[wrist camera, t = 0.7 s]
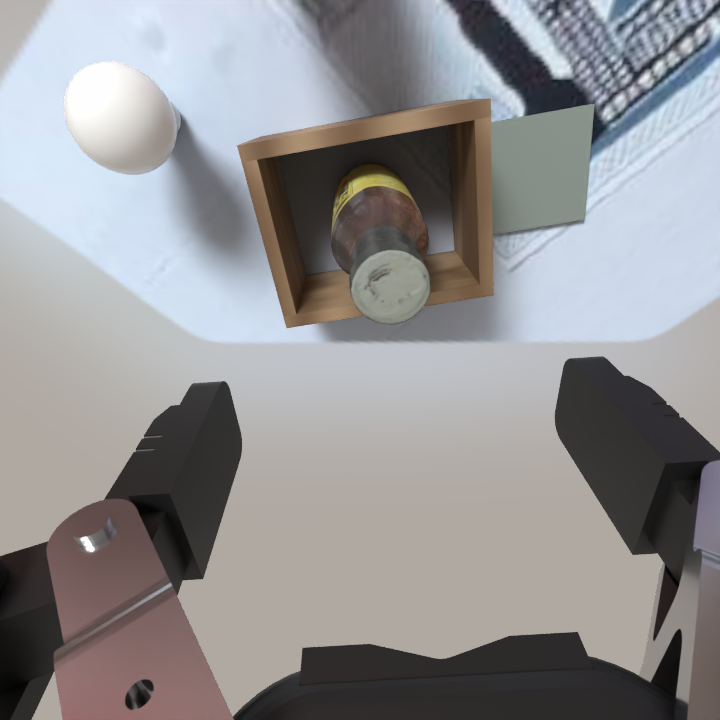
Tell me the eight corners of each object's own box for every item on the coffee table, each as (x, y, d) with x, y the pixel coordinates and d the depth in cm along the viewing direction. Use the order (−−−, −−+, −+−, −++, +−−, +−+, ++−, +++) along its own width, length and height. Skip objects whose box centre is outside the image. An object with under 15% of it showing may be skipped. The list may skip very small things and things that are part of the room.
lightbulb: (213, 89, 35) (163, 84, 25) (199, 172, 37) (149, 196, 28) (128, 56, 33) (40, 36, 24) (120, 144, 36) (39, 159, 27)
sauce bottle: (330, 164, 37) (316, 216, 20) (405, 158, 37) (455, 204, 20) (338, 242, 41) (332, 344, 23) (407, 237, 41) (451, 335, 23)
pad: (592, 104, 36) (594, 104, 35) (582, 218, 40) (584, 219, 40) (478, 124, 36) (479, 124, 36) (481, 235, 41) (482, 236, 40)
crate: (458, 99, 35) (490, 98, 27) (466, 259, 42) (493, 295, 34) (260, 136, 36) (237, 145, 28) (297, 287, 43) (286, 328, 35)
